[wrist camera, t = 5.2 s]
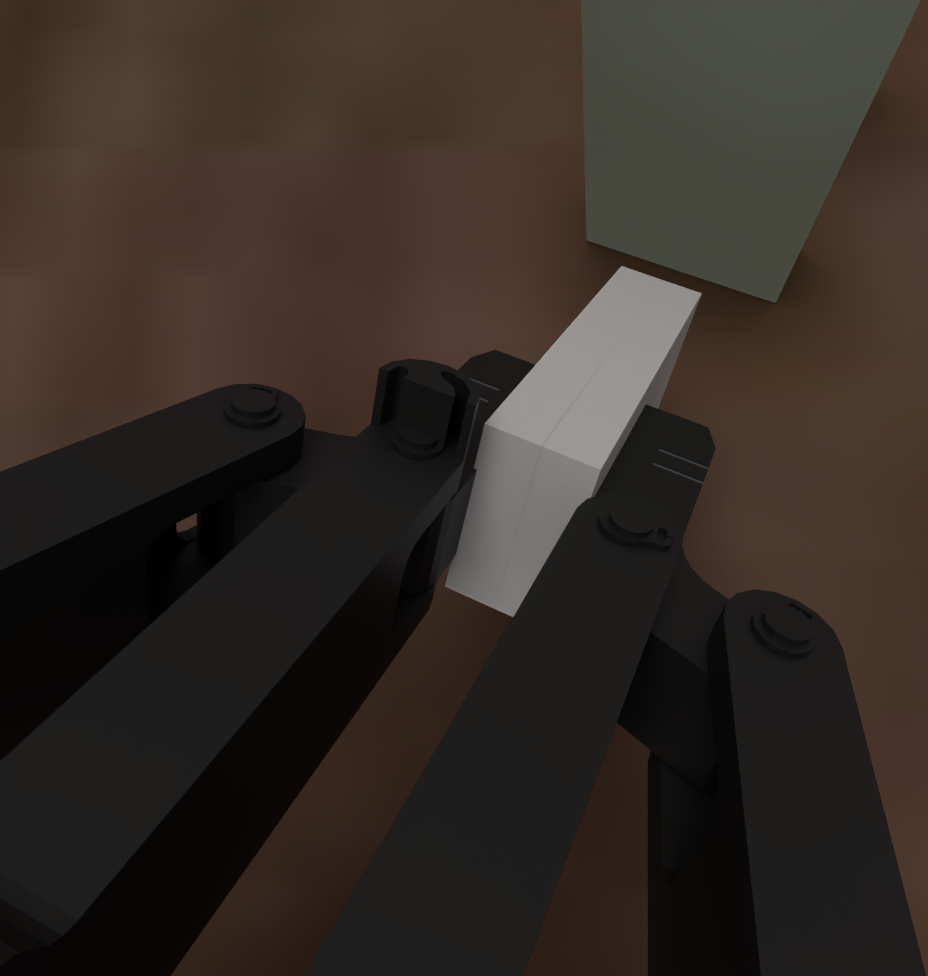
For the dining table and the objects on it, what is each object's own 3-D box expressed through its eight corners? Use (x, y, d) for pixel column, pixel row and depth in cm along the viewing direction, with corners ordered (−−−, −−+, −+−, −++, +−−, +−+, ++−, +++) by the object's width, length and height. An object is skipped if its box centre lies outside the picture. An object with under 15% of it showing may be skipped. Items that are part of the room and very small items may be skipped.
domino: (775, 303, 22) (922, -4, 12) (586, 240, 23) (579, -88, 13) (798, 247, 22) (960, -99, 12) (609, 187, 23) (621, -174, 13)
